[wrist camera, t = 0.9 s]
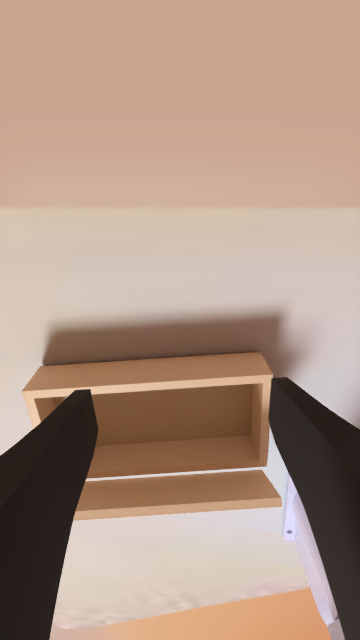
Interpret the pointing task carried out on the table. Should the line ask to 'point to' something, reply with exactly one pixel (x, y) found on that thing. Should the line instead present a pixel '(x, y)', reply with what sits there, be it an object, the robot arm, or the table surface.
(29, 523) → the robot arm
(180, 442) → the carton
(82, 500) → the lid flap
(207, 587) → the table surface
